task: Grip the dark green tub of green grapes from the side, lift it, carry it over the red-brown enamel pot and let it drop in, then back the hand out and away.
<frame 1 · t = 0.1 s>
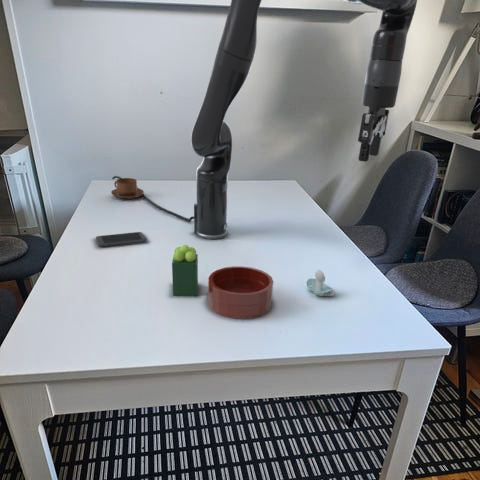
hand: (368, 158, 111), 29 cm above the table, tool pointing down, fingers open, 8 cm apart
cup and saucer: (127, 197, 176), on the table
pot: (239, 302, 106), on the table
pacifier: (321, 293, 113), on the table
grapes: (185, 290, 111), on the table
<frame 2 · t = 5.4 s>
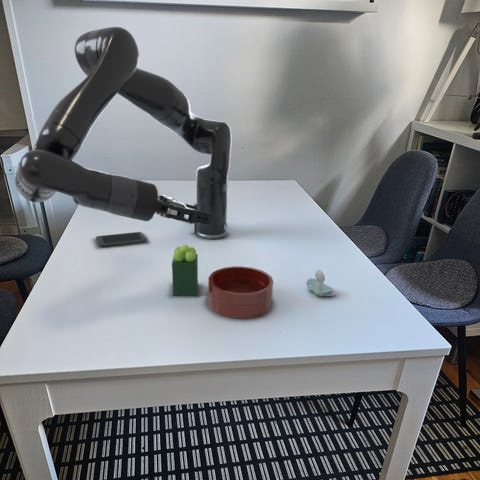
hand: (201, 215, 98), 20 cm above the table, tool tilted 70°, fingers open, 8 cm apart
nothing on the table moved.
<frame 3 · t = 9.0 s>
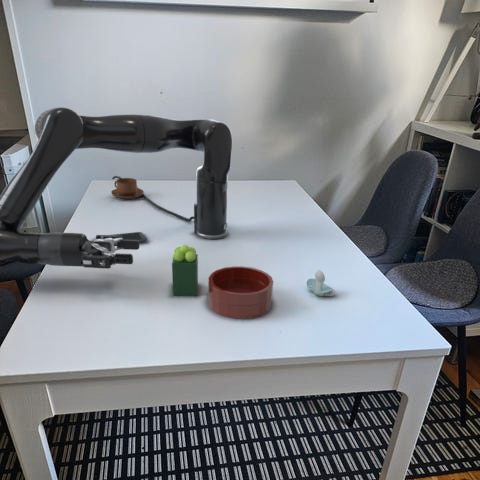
hand: (135, 251, 105), 10 cm above the table, tool horizontal, fingers open, 8 cm apart
nothing on the table moved.
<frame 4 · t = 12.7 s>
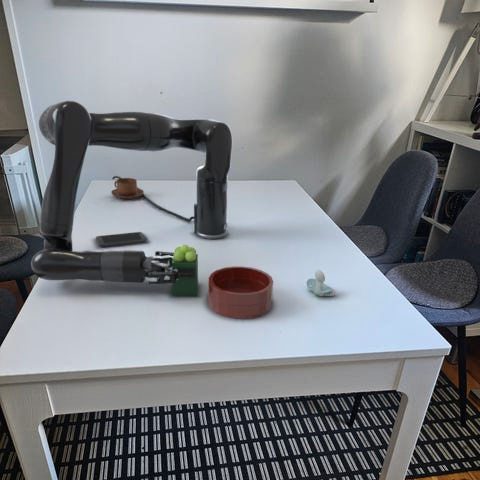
hand: (195, 268, 108), 6 cm above the table, tool horizontal, fingers closed on grapes, 5 cm apart
grapes: (185, 290, 111), on the table, touching gripper
everything else where it was.
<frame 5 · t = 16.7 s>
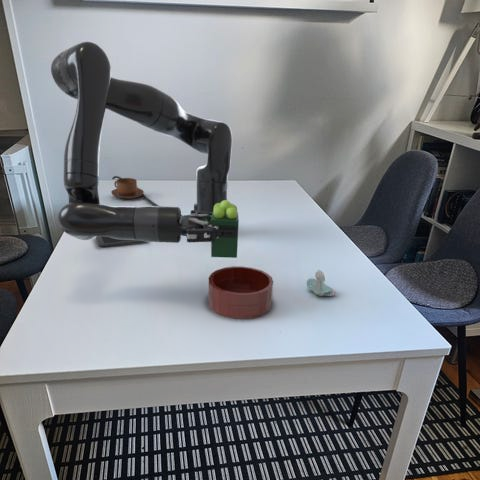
hand: (236, 226, 99), 18 cm above the table, tool horizontal, fingers closed on grapes, 5 cm apart
grapes: (224, 252, 102), point 12 cm above the table, touching gripper
everything else where it was.
when the fingers open (8 cm above the table, at t = 20.6 s): grapes drops 2 cm, resting on pot.
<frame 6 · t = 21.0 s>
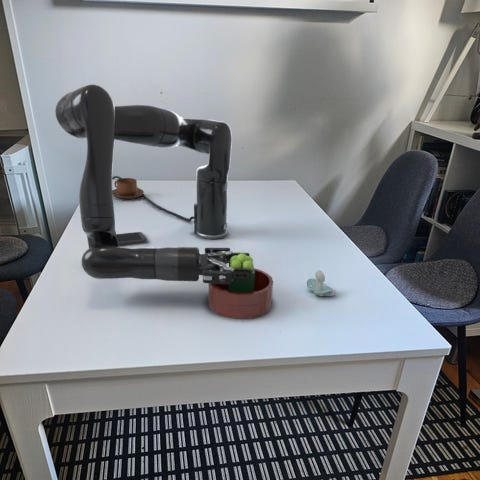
hand: (250, 265, 102), 10 cm above the table, tool horizontal, fingers open, 8 cm apart
grapes: (240, 300, 106), point 1 cm above the table, touching pot
everything else where it was.
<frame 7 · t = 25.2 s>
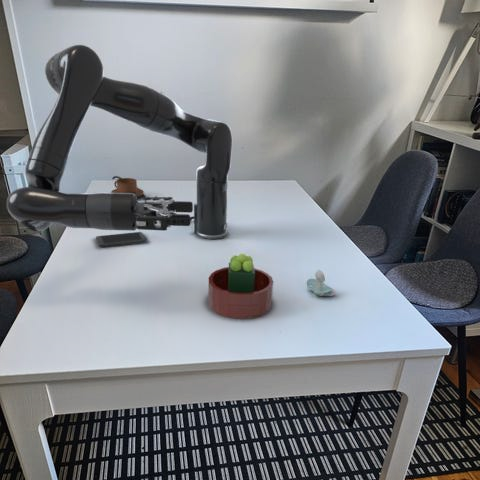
hand: (191, 213, 95), 21 cm above the table, tool horizontal, fingers open, 8 cm apart
nothing on the table moved.
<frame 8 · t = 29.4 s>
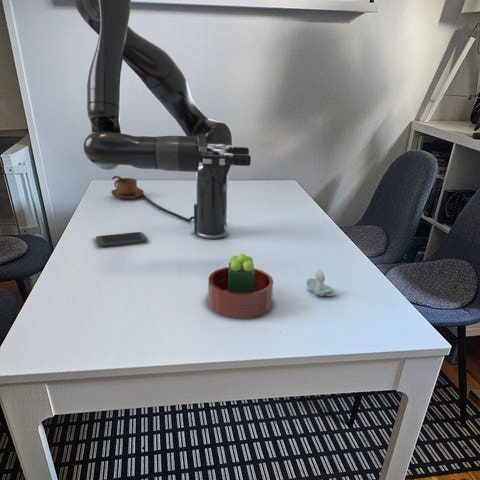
hand: (249, 156, 103), 30 cm above the table, tool horizontal, fingers open, 8 cm apart
nothing on the table moved.
at the end: grapes inside the target area in the pot (0.1 cm from its centre), point 0.6 cm above the pot's base; the gripper is holding nothing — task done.
